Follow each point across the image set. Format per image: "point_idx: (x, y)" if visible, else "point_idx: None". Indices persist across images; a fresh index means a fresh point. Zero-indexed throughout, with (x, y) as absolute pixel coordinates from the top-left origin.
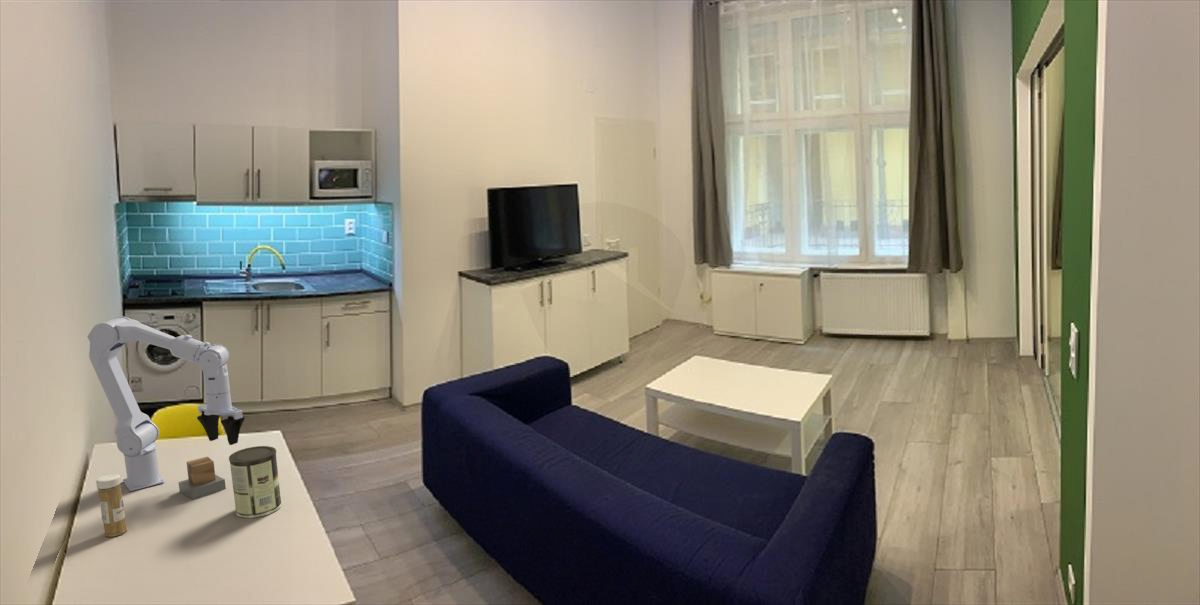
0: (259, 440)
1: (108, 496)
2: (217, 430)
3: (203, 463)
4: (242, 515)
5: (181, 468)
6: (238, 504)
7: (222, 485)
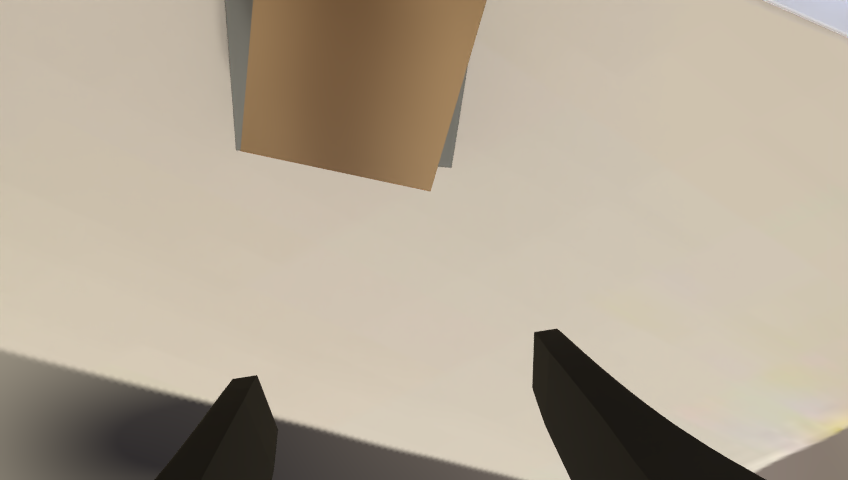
0: None
1: None
2: (566, 464)
3: (271, 63)
4: None
5: (764, 162)
6: None
7: None
